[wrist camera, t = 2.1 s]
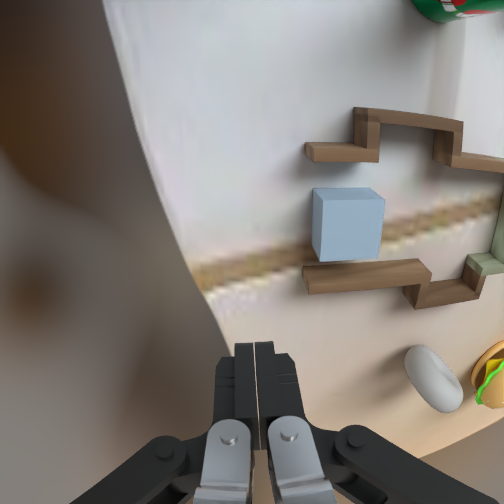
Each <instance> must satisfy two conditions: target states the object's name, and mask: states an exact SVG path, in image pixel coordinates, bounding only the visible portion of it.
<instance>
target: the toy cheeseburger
mask: <svg viewBox="0 0 504 504" xmlns="http://www.w3.org/2000/svg"><path fill="white" fill-rule="evenodd" d="M471 382H472V385H473V386H474V387H476V389H477V390H478V391H477V392H474V394H475V395H476V396H477V397H476V398H475V400H476V402H477V404H484V405H485V406H487V407H490V408H492V409H495V408H503V407H504V340H503V341H501V342H499V343H497V344H496V345H494V346H493V347H491V348H490V349H489V350H488V351H487V352H486V353H485V354H484V355H483V356H482V357H481V358H480V360H479V361H478V362H477V364H476V365H475V367H474V369H473V372H472V375H471Z"/></svg>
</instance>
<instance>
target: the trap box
mask: <svg viewBox="0 0 504 504" xmlns="http://www.w3.org/2000/svg"><path fill="white" fill-rule="evenodd" d="M380 123H387V124H398V125H407V126H416V127H424V128H432V129H435V135H434V150H433V160H435V161H438V162H440V163H442V164H445V165H447V166H449V167H454V168H465V169H474V170H483V171H491V172H499V173H504V158H498V157H492V156H486V155H479V154H472V153H465V152H461V151H462V138H463V121H458V120H453V119H448V118H443V117H437V116H431V115H424V114H417V113H410V112H402V111H393V110H384V109H373V108H361V107H354V133H353V143H330V142H305V155H306V156H307V157H309V158H310V159H311V160H312V161H313V162H374V163H379V145H380ZM499 273H504V191H503V196H502V202H501V207H500V212H499V217H498V222H497V226H496V230H495V235H494V239H493V243H492V247H491V250H490V253H480V254H468V256H467V260H466V264H465V267H464V271H463V274H462V278H459V279H451V280H443V281H435V282H430V280H431V276H432V273H431V272H430V271H429V270H428V269H427V267H426V266H425V265H424V264H423V263H422V262H421V261H420V260H419V259H405V260H392V261H378V262H364V263H349V264H334V265H318V266H303V279H304V282H305V285H306V288H307V291H308V294H320V293H332V292H344V291H355V290H366V289H377V288H387V287H396V286H404V289H403V294H404V296H405V297H406V298H407V300H408V301H409V303H410V304H411V305H412V307H413V308H414V310H416V309H422V308H429V307H435V306H441V305H447V304H453V303H459V302H465V301H470V300H476V299H479V296H480V294H481V291H482V288H483V285H484V282H485V279H486V275H492V274H499Z"/></svg>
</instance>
